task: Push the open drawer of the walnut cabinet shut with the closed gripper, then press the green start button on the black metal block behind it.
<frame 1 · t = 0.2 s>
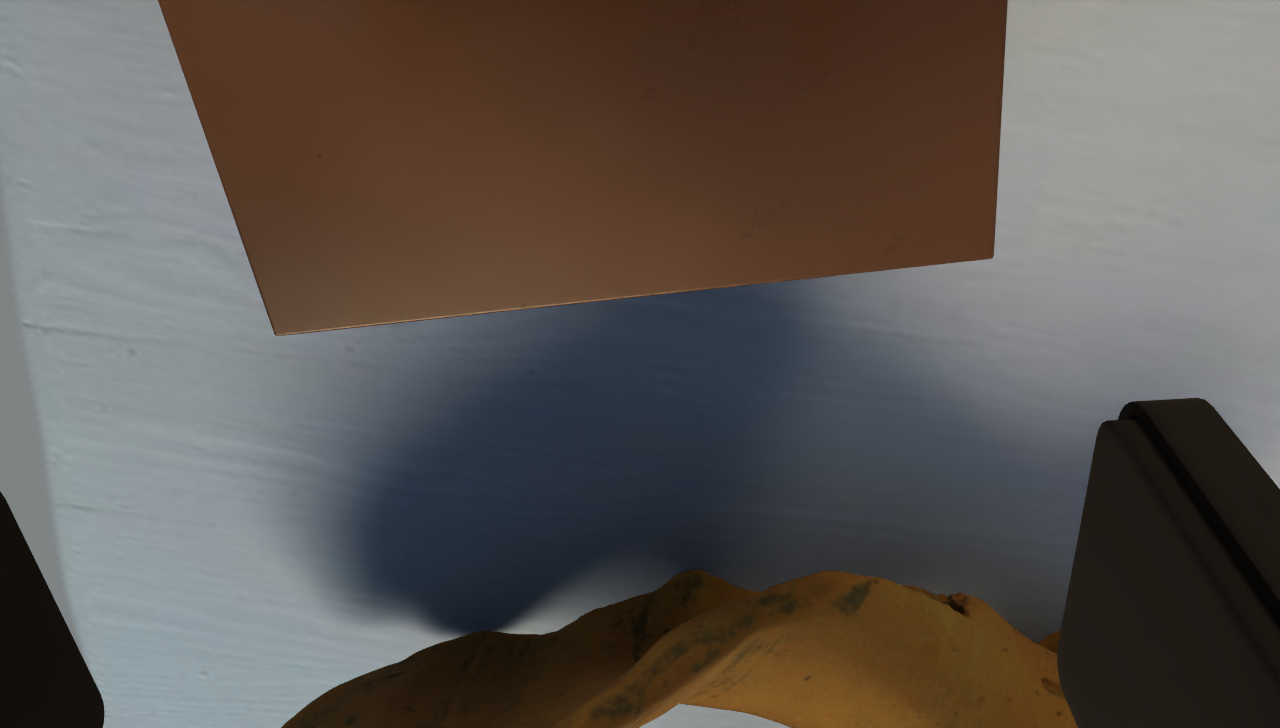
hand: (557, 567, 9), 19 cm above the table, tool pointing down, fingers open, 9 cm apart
brown looped sculpture: (703, 609, 36), on the table
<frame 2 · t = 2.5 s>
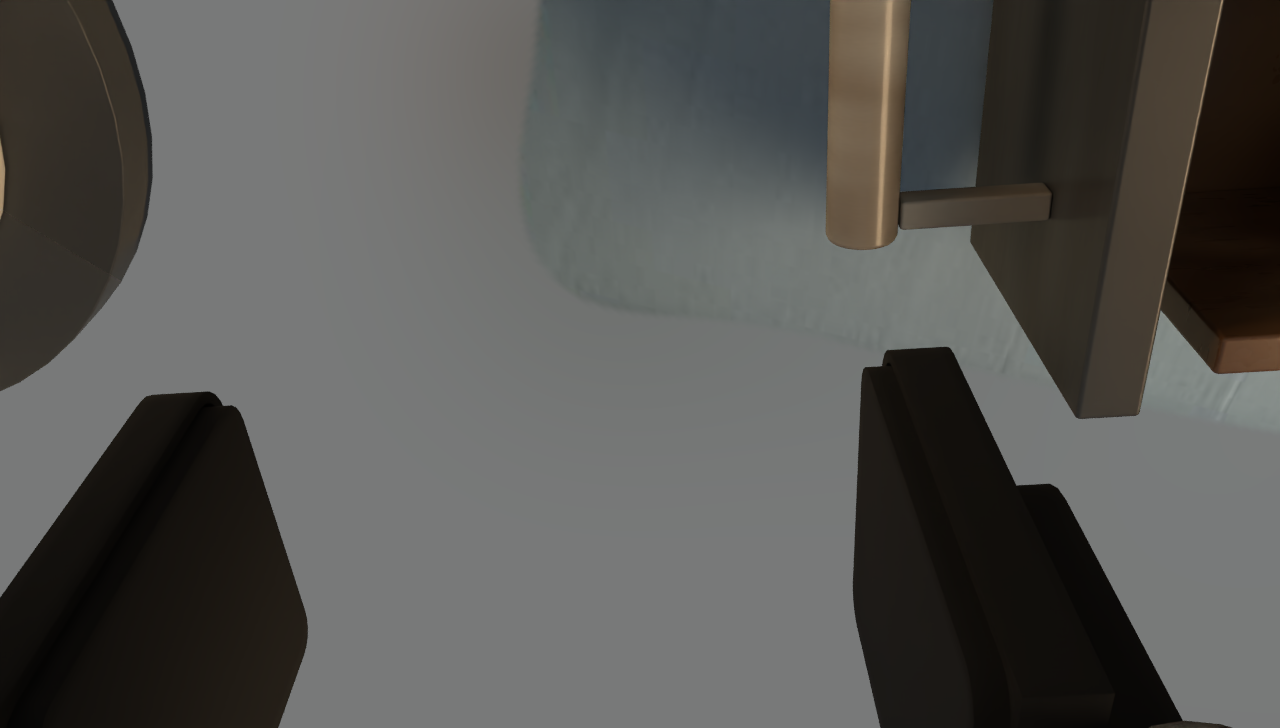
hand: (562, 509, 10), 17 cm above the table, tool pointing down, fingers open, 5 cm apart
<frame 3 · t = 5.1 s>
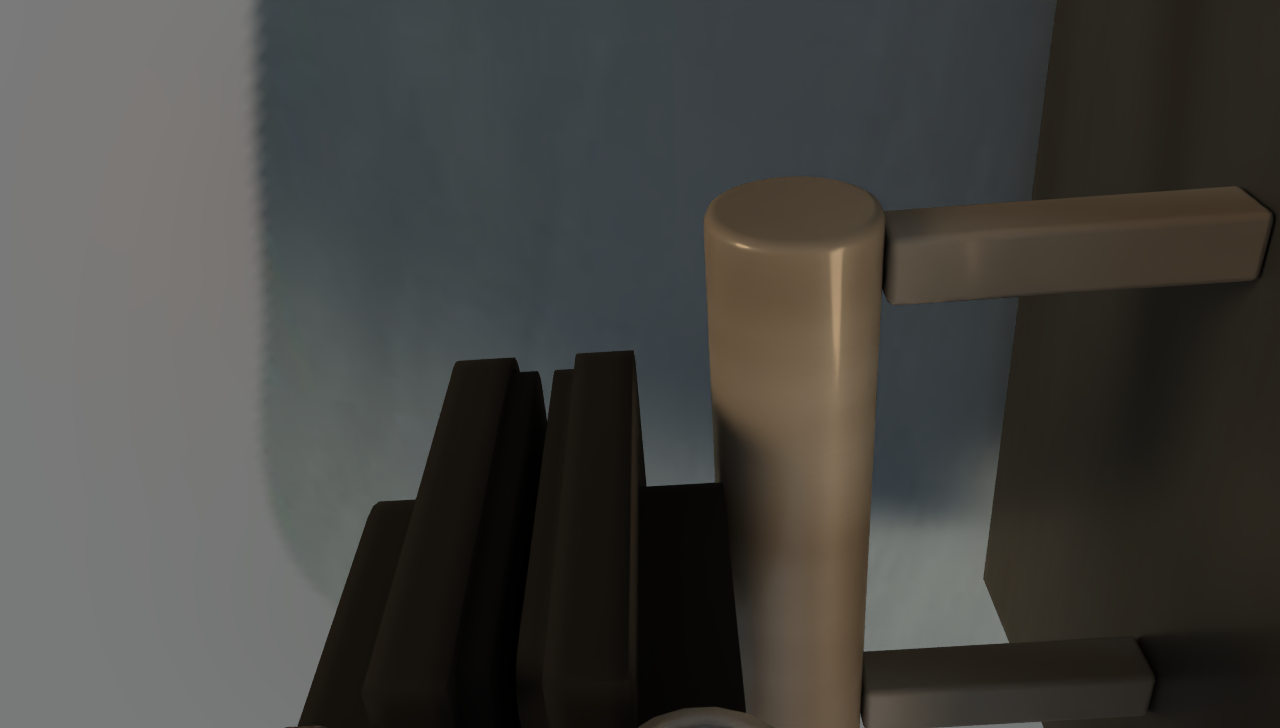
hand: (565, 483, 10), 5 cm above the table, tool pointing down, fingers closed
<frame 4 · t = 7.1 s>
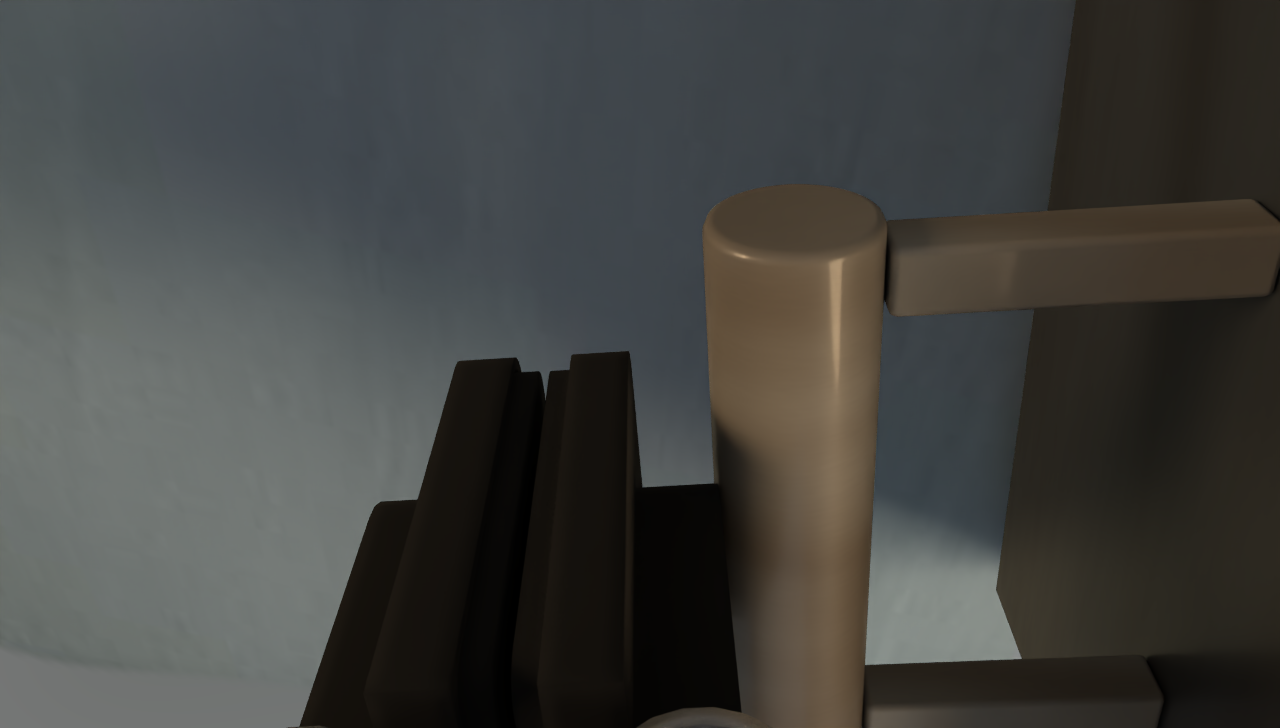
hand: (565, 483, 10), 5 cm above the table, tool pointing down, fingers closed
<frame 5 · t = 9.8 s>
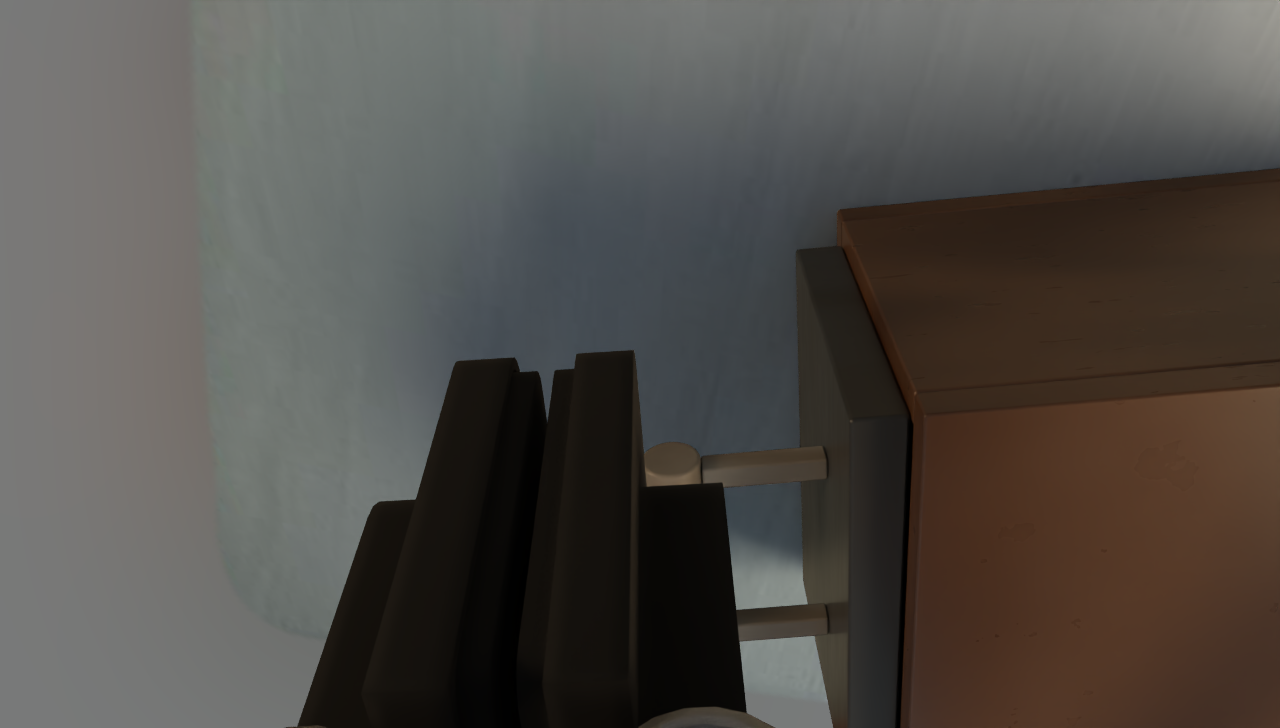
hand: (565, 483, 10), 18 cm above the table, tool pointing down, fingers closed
drawer: (1004, 504, 27), point 5 cm above the table, slide at 0.0 cm
cabinet: (1091, 387, 31), on the table
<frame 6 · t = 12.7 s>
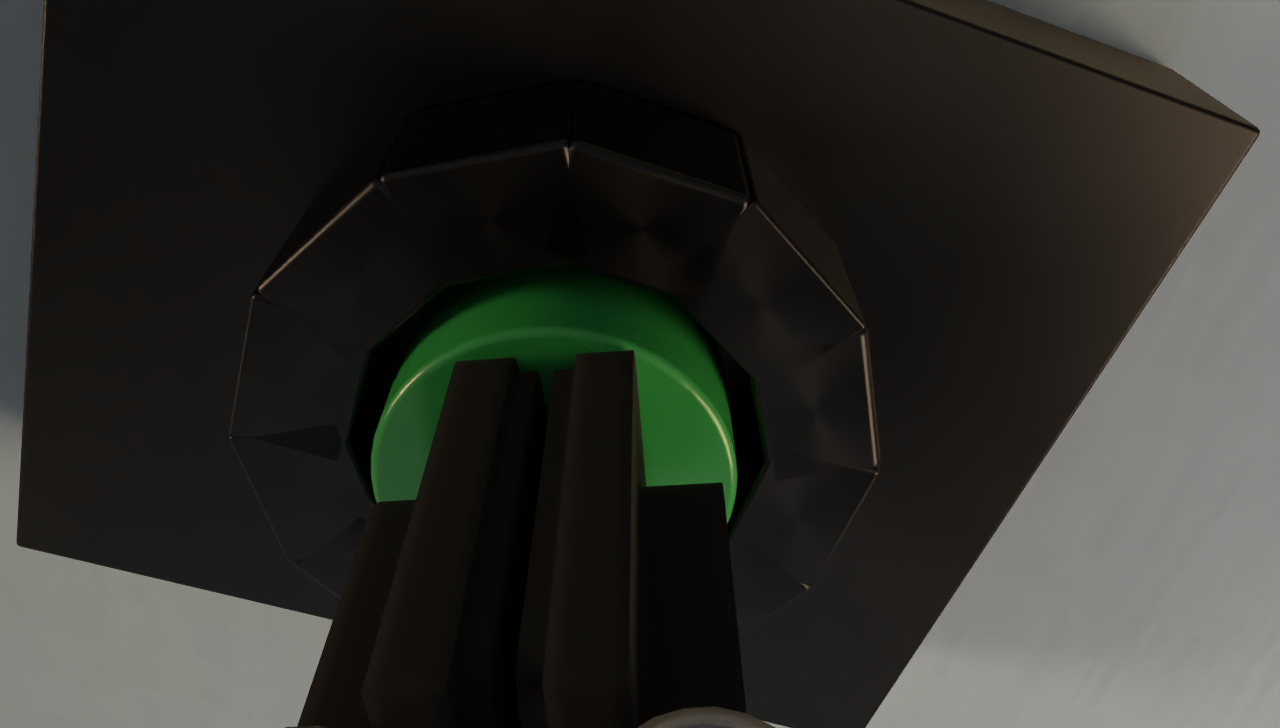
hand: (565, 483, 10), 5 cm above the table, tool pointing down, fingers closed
start button: (559, 437, 11), point 4 cm above the table, slide at -0.7 cm, touching gripper
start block: (576, 277, 14), on the table
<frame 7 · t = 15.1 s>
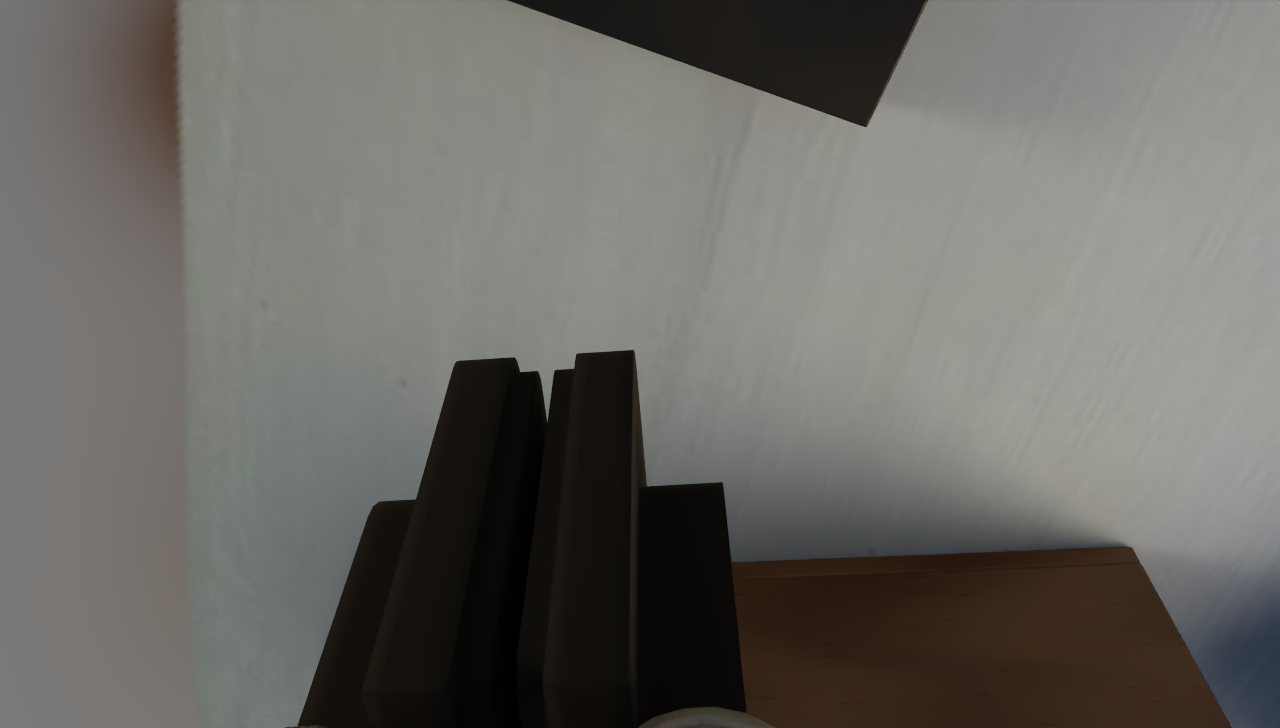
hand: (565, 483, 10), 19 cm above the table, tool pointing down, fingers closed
cabinet: (895, 685, 39), on the table
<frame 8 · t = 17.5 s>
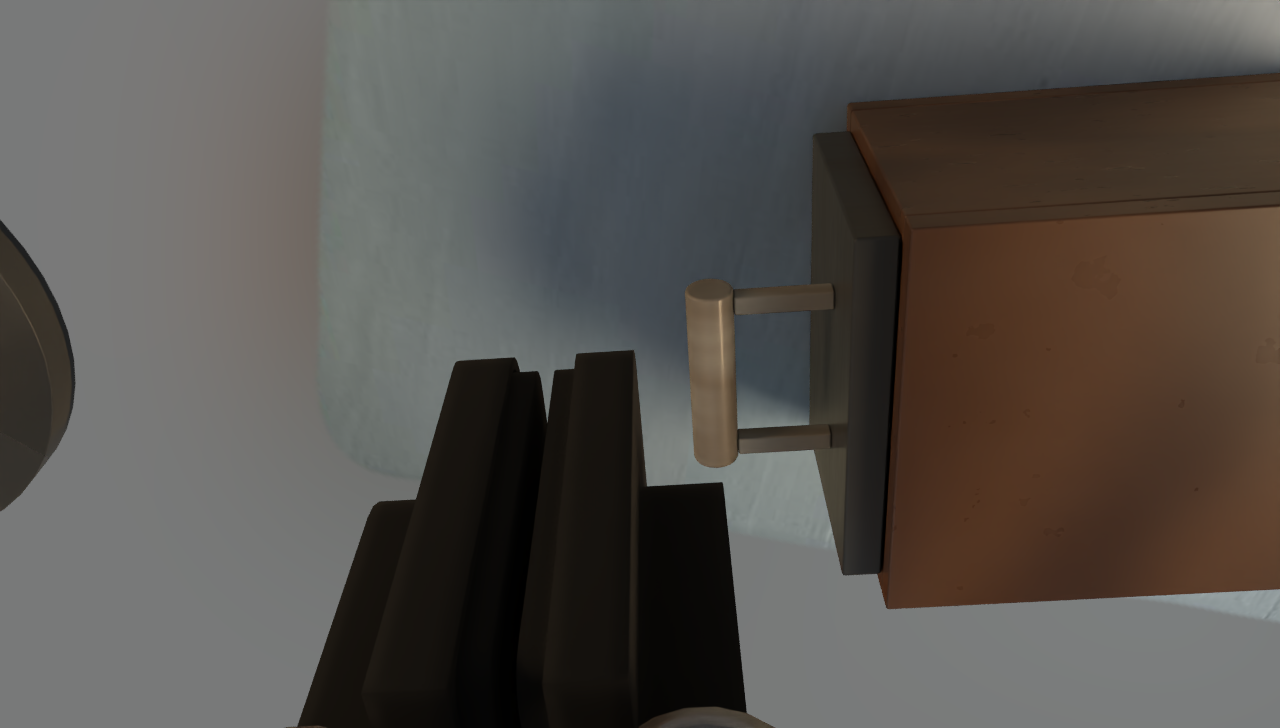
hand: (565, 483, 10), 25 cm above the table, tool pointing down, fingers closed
drawer: (977, 343, 33), point 5 cm above the table, slide at 0.0 cm
cabinet: (1054, 265, 37), on the table
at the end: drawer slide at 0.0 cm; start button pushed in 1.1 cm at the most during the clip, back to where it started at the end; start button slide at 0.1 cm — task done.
